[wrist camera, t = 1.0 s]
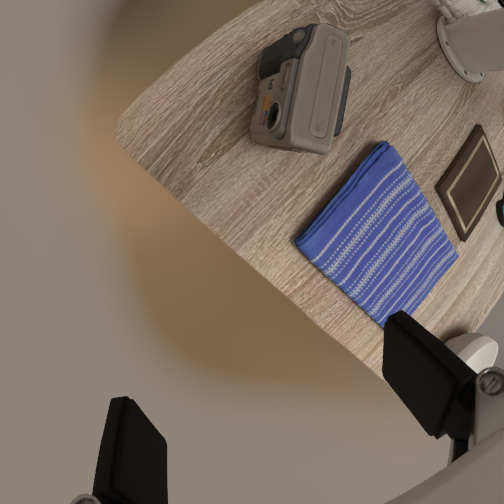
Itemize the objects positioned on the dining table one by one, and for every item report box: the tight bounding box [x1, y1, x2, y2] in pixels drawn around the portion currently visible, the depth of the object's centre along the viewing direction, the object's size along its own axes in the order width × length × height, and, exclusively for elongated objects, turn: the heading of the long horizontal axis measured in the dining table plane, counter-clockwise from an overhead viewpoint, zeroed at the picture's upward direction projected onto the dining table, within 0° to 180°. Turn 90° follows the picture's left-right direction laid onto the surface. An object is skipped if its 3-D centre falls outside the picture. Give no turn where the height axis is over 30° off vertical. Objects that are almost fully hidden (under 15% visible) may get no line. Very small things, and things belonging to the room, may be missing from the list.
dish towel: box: [295, 141, 459, 329], centre depth 34 cm, size 17×24×3 cm
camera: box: [250, 23, 351, 155], centre depth 22 cm, size 11×6×10 cm, turn 168°
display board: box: [435, 125, 502, 242], centre depth 35 cm, size 12×16×1 cm
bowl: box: [444, 333, 498, 374], centre depth 43 cm, size 19×19×9 cm
